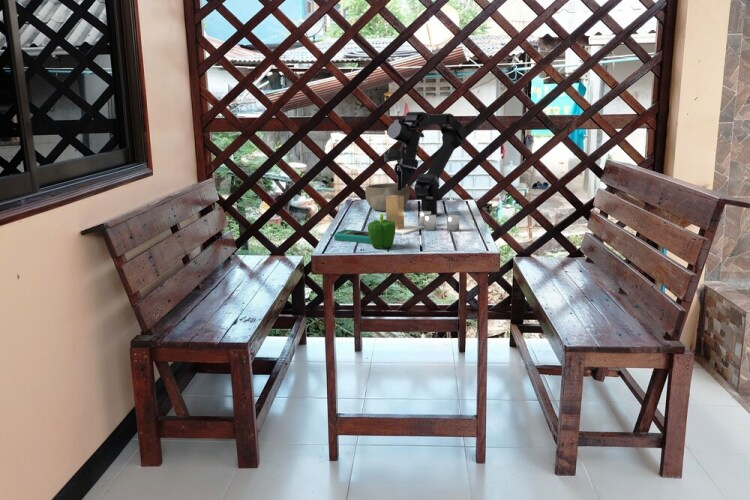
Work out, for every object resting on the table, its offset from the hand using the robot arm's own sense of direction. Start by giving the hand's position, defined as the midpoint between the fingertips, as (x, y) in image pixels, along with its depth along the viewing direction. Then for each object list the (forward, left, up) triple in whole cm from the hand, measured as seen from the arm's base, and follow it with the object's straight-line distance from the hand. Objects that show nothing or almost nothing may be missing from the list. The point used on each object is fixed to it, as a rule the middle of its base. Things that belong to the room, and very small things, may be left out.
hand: (400, 189), depth 230 cm
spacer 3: (+3, +23, -12) cm, 26 cm away
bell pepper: (+34, +16, -12) cm, 39 cm away
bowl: (-20, -20, -12) cm, 31 cm away
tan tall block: (+11, +5, -12) cm, 17 cm away
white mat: (+10, +5, -12) cm, 16 cm away
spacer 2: (+5, +15, -12) cm, 20 cm away
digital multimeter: (+29, +3, -13) cm, 32 cm away
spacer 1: (0, +10, -12) cm, 16 cm away
